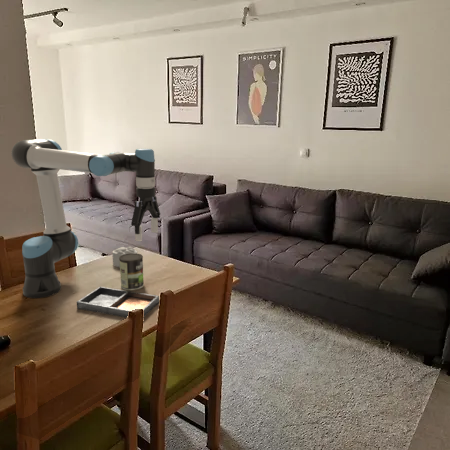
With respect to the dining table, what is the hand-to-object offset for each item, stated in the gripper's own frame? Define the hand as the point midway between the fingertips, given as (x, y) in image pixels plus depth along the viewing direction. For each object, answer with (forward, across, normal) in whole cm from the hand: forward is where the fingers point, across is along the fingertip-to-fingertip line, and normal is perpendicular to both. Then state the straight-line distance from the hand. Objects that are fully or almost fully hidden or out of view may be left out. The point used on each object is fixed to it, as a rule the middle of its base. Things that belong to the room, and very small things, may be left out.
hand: (146, 236), depth 164 cm
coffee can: (+26, +3, +10) cm, 28 cm away
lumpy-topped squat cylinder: (+26, +26, +27) cm, 46 cm away
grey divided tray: (+26, -16, +5) cm, 30 cm away
